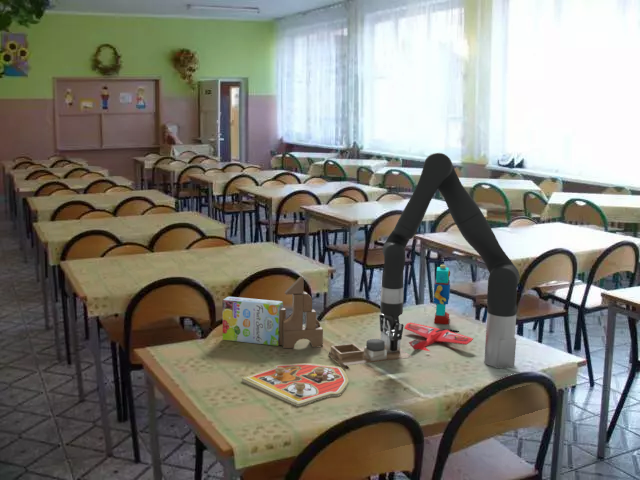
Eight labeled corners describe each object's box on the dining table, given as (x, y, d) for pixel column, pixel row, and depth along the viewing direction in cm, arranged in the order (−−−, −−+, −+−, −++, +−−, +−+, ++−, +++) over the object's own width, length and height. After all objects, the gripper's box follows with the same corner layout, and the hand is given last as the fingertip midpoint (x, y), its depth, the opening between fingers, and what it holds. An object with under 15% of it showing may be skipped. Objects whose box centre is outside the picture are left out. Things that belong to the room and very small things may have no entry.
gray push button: (387, 358, 246) (387, 343, 245) (370, 360, 243) (371, 345, 242) (379, 352, 251) (379, 338, 250) (363, 354, 249) (363, 340, 248)
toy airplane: (483, 344, 266) (484, 331, 265) (448, 366, 244) (449, 351, 243) (416, 330, 281) (417, 317, 280) (378, 349, 260) (379, 335, 259)
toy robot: (448, 325, 287) (451, 262, 283) (432, 324, 288) (435, 261, 284) (449, 317, 298) (452, 256, 294) (433, 316, 299) (436, 255, 295)
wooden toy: (319, 340, 266) (320, 272, 262) (322, 346, 260) (324, 276, 255) (276, 342, 263) (276, 273, 259) (278, 348, 257) (279, 278, 252)
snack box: (283, 341, 265) (283, 300, 262) (278, 346, 260) (278, 304, 257) (227, 335, 271) (227, 295, 268) (221, 340, 265) (221, 299, 262)
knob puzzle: (237, 381, 229) (237, 367, 228) (307, 359, 249) (308, 346, 248) (303, 411, 208) (303, 395, 207) (373, 384, 229) (374, 370, 228)
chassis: (412, 360, 248) (413, 348, 247) (344, 368, 239) (345, 356, 239) (394, 347, 261) (394, 335, 260) (328, 354, 252) (329, 342, 251)
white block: (400, 351, 253) (400, 334, 252) (386, 352, 252) (387, 335, 250) (393, 346, 258) (394, 330, 257) (380, 348, 256) (380, 331, 255)
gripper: (411, 304, 246) (409, 353, 249) (392, 293, 259) (390, 340, 263) (391, 306, 244) (389, 356, 247) (372, 295, 257) (371, 342, 260)
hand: (390, 347), depth 255 cm, fingers closed on white block, 5 cm apart
